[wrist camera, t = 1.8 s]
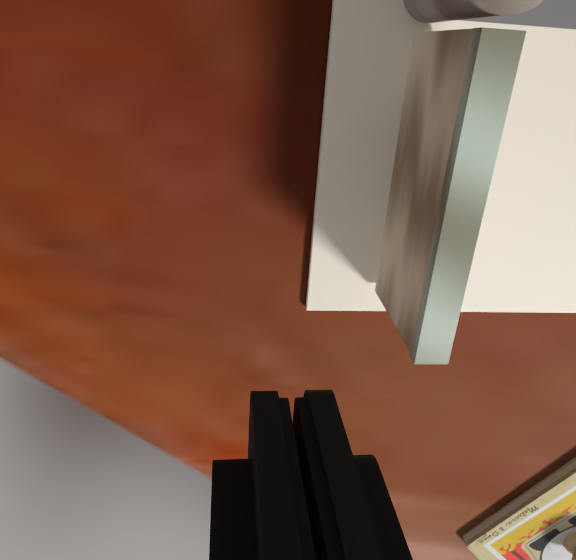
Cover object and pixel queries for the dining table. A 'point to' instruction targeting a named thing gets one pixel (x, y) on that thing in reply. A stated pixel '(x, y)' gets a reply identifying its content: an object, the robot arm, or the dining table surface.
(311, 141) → the dining table surface
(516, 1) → the fence base
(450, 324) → the fence panel
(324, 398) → the robot arm
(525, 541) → the knob puzzle
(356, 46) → the card
